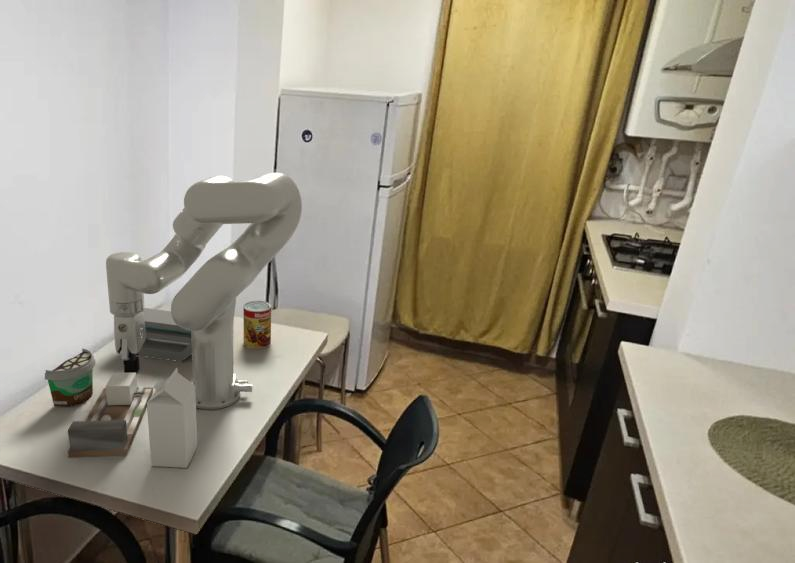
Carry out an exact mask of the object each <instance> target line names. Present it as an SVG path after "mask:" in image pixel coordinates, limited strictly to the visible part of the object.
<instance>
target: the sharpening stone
mask: <svg viewBox="0 0 795 563" xmlns="http://www.w3.org/2000/svg"><path fill="white" fill-rule="evenodd" d="M143 313H144V320H145V329H146V339H145V341H144V343H143V345H142V347H141V349H140V351H139V355H138V356H139V357H142V356H148V357H147V358H149V357H154V358H153V359H157V358H161V359H160V360H164V359H169V360H168V361H171V360H176V361H175V362H179V361H181V362H183V361H184V360H186V358H188V357H189V356H192V349H191V331H189V330H185V329H183V328H181V327H179V326H178V325H177V324H176V323H175V321H174V320H173V318H172V314H171V310H170V311H169V310H164V309H163V310H162V309H155V308H147V307H145V310H144V311H143Z"/></svg>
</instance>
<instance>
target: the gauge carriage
mask: <svg viewBox="0 0 795 563" xmlns="http://www.w3.org/2000/svg"><path fill="white" fill-rule="evenodd" d="M105 388H106V396H107V405H131V404H132V402H133V399H134V397H135V395H136V394H145V392H137V388H138V380H137V374H136V373H124V372H112V374H111V376H110V378H109V379H108V381H107V383H106V385H105Z"/></svg>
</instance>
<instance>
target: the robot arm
mask: <svg viewBox="0 0 795 563" xmlns="http://www.w3.org/2000/svg"><path fill="white" fill-rule="evenodd" d="M302 205H303V203H302V198H301V192H300V190H299V187H298V186H297V184H296V183H295V182H294V180H293V179H292V178H291V177H290V176H288V175H287V174H285V173H281V172H270V173H267V174H263V175H260V176H258V177H256V178H254V179H251V180H244V181H243V180H242V181H235V180H234V179H232V178H231V177H229V176H225V175H214V176H212V177H208V178H205V179H202V180H200V181H196V182H195V183H193V184H192V185H190V186H189V187H188V189H187V191H186V192H185V194H184V198H183V206H184V207H183V209H182V210H181V211H180V212H179V213H178V214H177V216H176V217H175V218H174V220H173V222H172V229H173V231H174V233H175V234H174V236H173V237H172V239H171V240H170V241H169V242H168V243H167V245H166V246H165V247H164V248H163V249H162V250H161V251H160V252H159V253H156V254H154V255H153V256H151V257H149V258H147V259H144V260H142V258H141V256H140V255H139V254H137V253H134V252H129V251H127V252H126V251H123V252H122V251H121V252H114V253H111V254H110V255H108V257H106V260H105V269H106V270H105V271H106V279H107V280H106V281H107V283H106V284H107V291H108V292H107V293H108V306H109V313H110V314H111V315H113V332H114V347H115V352H116V353H117V354H119V355H120V354H121V360H122V362H123V373H136V375H137V374H139V372H140V370H141V369H140V355H139V351H140V349H141V347H142V345H143V343H144V341H145V339H146V329H145V320H144V313H143V311H144V310H145V308H146V306H145V294H147V295H154V294H157V293H159V292H161V291H163V289H165V288H167V287H168V286H170V285H171V284H173V283H174V282H176V281H177V280H179V279H180V278H182V276H184V274H186V272H188V270H189V269H190V268H191V266H193V265H194V263H195V262H196V261H197V260H198V258H199V257H200V256H201V254H202V253H203V251H204V250H205V248H206V246H207V244H208V243H209V242H210V240H211V239H212V238H213V237H214V236H215V235H216V233H217V232H218V231H219V230H220V228H222V226H223V225H232V224H233V225H234V224H235V225H238V224H239V225H241V224H249V225H248V226H247V227H246V228H245V230H244V231H243V232H242V233H241V234H240V235H239V237H238V238H237V239H236V240H235V241H234V242H232V244H230V245H229V246H228V247H226V248H225V249H223V250H222V251H219V252H218V253H217V254H215V255H214V256H212V257H210V259H208V260H207V261H206V262H204V263H203V265H202V266H200V268H199V269H198V270H197V271H196V272H195V273H194V274H193V276H191V277H190V279H189V280H188V281H187V282H186V283H185V284H184V285H183V286H182V288H180V290H179V291H178V292H177V293H176V294H175V296H174V297H173V299H172V301H171V305H170V311H171V314H172V318H173V320H174V321H175V323H176V324H177V325H178V326H179V327H181V328H183V329H185V330H189V331H191V349H192V354H191V365H192V368H191V371H192V372H191V373H192V374H191V375H192V384H193V385H194V386H195V396H196V409H200V410H218V409H222V408H226V407H228V406H231V405H233V404H235V403H236V402H237V401H238V399H239V398H240V396H241V393H243V392H245V393H246V392H247V393H250V392H251V393H252V392H253V383H249V379H242V380H241V379H238V378H237V375H236V373H234V321H235V311H236V306H237V298H238V296H239V295H240V294H241V293H243V292H244V291H245V290H246V289H247V288H248V287H249V286H251V284H253V282H254V281H255V280H256V278H257V277H258V276H259V275H260V273H261V272H262V271H263V269H265V267H266V266H267V265H268V264H269V263H270V262H271V261H272V260H273V259H274V258H275V257H276V256H277V255H278V254H279V252H280V251H281V250H282V249H283V248H284V247H285V245H286V244H287V243H288V242H289V241H290V239H291V238H292V237H293V235H294V234H295V232H296V230H297V229H298V228H297V227H298V226H299V223H300V220H301V215H302V209H303V208H302V207H303V206H302Z"/></svg>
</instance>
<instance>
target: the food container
mask: <svg viewBox="0 0 795 563" xmlns="http://www.w3.org/2000/svg"><path fill="white" fill-rule="evenodd" d="M81 350H82V351H81V352H80V353H79V354H78V355H75V356H73V357H71V358H68V359H67V360H65V361H63V362H62V363H61V364H59V365H58V366H57V367H56V368H54V369H52V370H49V369H48V370H47V369H45V372H44V380H47V383H48V386H49V391H50V396H51V399H52V402H53V407H55V408H71V407H74V406H78V405H81V404H84V403H86V402H87V401H88V400H90V399H91V398H92V397H93V395H94V394H93V393H94V384H93V377H94V376H93V372H94V371H93V369H94V368H95V366H96V359H95V357H94V354H93V353H92V352H91V351H90V350H89V349H86V348H81Z"/></svg>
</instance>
